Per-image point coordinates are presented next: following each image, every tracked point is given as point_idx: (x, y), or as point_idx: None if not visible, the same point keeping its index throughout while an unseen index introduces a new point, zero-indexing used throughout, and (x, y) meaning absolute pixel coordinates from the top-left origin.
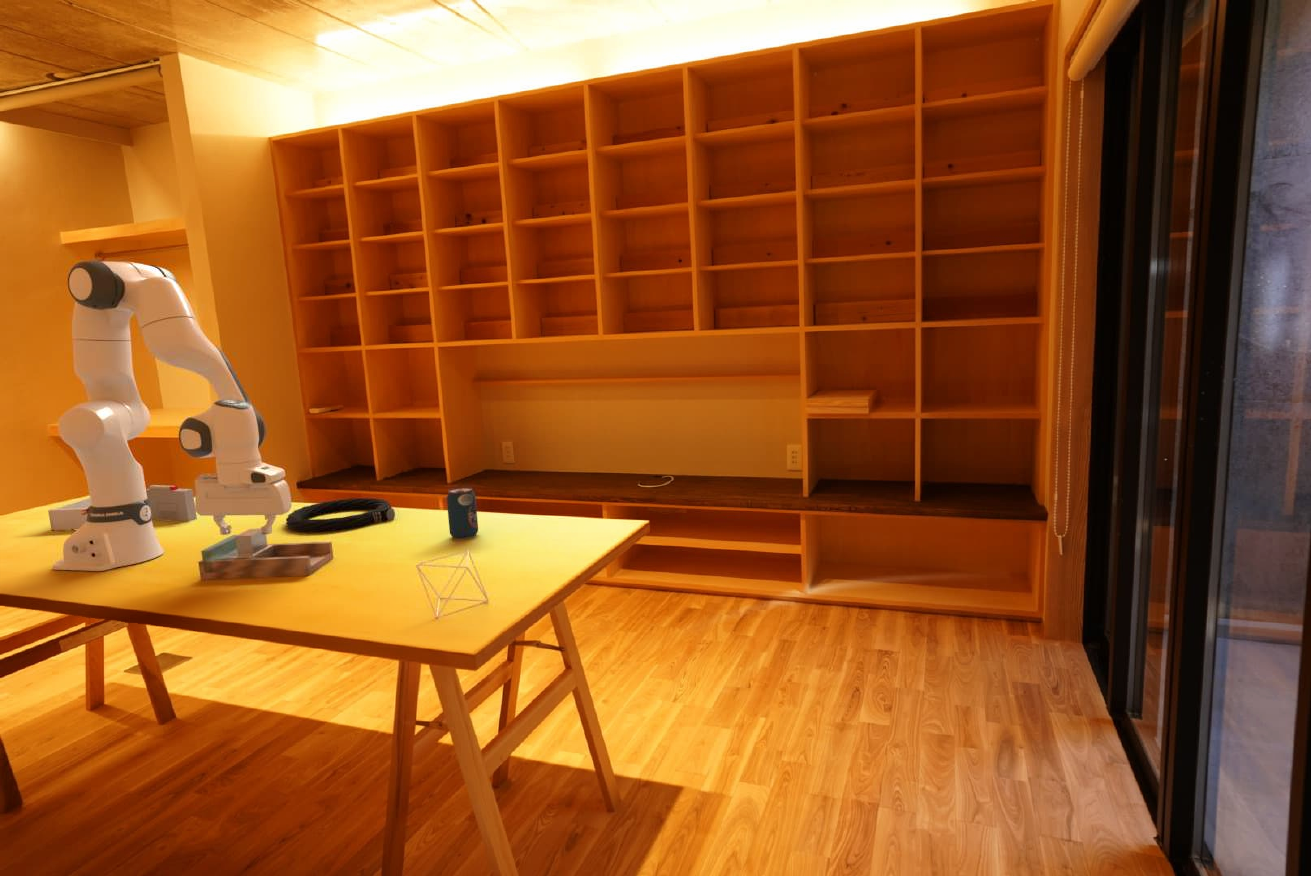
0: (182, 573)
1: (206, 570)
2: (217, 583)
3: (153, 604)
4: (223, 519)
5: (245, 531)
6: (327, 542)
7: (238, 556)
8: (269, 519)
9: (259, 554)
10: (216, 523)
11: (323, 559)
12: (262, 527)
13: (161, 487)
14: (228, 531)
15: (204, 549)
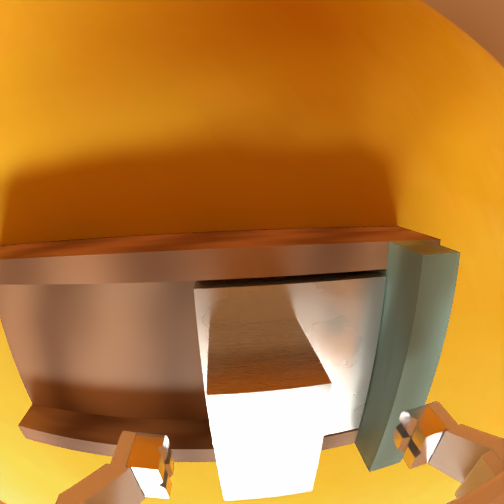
0: (468, 294)
1: (393, 232)
2: (309, 172)
3: (390, 9)
4: (457, 479)
5: (315, 463)
6: (28, 432)
7: (288, 310)
8: (68, 499)
9: (201, 352)
10: (484, 433)
11: (15, 358)
12: (146, 466)
13: None
14: (406, 432)
15: (454, 275)
